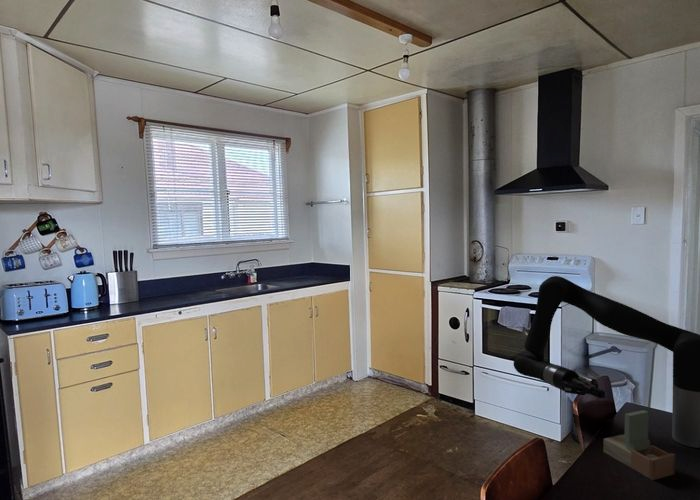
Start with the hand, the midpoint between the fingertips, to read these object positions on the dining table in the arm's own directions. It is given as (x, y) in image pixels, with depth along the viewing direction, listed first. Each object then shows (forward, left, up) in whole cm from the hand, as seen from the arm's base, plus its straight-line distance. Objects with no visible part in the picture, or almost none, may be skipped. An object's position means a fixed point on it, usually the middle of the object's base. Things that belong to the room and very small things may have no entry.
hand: (603, 395), depth 134 cm
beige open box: (0, +9, -15) cm, 17 cm away
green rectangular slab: (0, +12, -11) cm, 16 cm away
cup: (0, +16, -15) cm, 22 cm away
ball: (0, +16, -13) cm, 21 cm away
